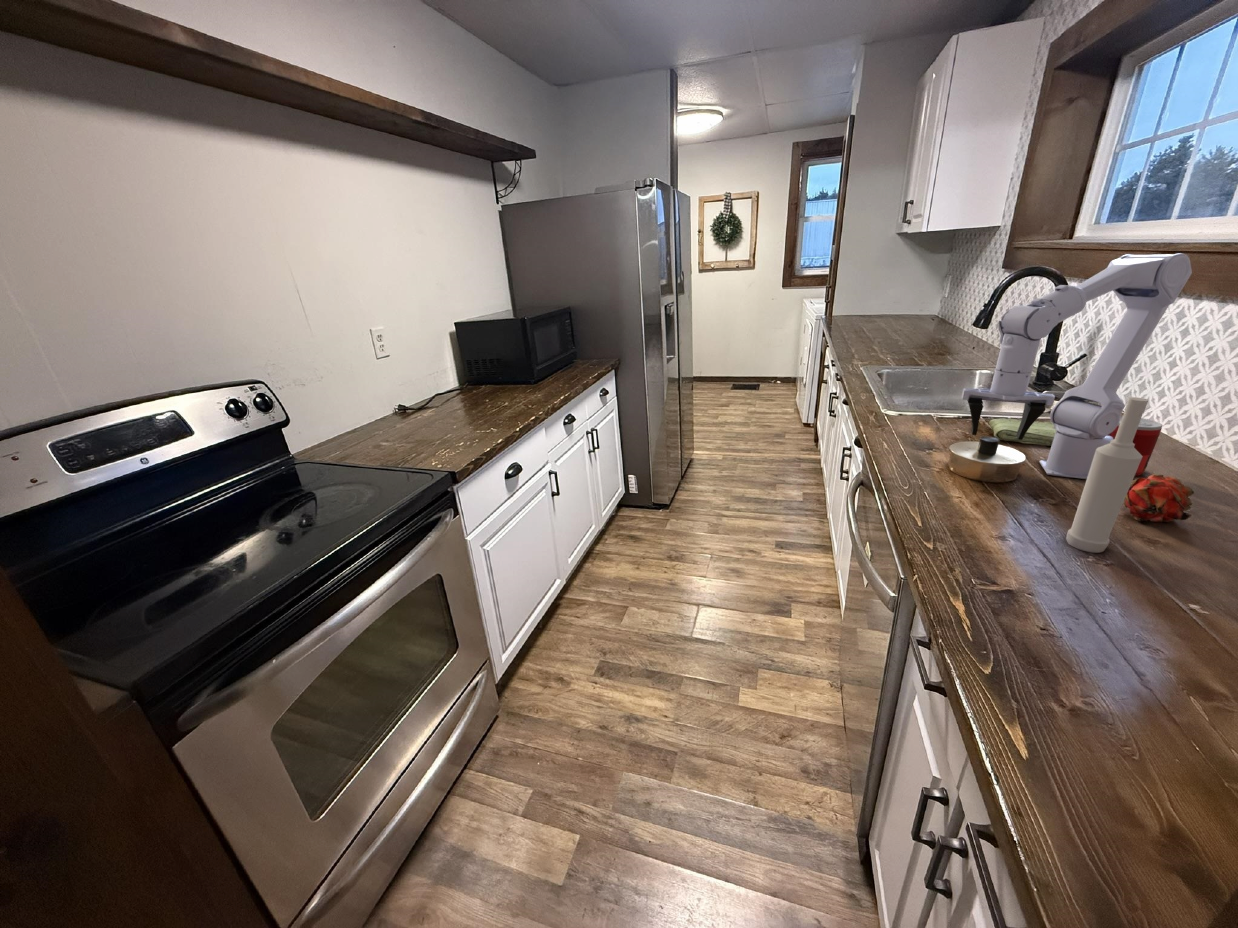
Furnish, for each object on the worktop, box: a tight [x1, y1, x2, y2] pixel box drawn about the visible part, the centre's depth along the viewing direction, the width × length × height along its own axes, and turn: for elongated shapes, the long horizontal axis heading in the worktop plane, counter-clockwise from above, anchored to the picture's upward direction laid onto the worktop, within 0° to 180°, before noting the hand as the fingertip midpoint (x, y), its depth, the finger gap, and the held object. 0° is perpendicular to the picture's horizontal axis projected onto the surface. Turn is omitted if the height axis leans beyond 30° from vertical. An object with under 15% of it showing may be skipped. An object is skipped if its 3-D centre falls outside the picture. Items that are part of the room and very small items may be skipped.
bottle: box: [1065, 396, 1149, 554], centre depth 78 cm, size 5×5×25 cm
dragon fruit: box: [1124, 473, 1195, 523], centre depth 88 cm, size 8×8×12 cm
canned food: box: [1107, 416, 1163, 477], centre depth 106 cm, size 8×8×11 cm
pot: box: [948, 452, 1022, 484], centre depth 110 cm, size 13×13×4 cm
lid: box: [948, 436, 1026, 466], centre depth 109 cm, size 14×14×4 cm
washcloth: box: [989, 418, 1056, 447], centre depth 128 cm, size 13×18×3 cm
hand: (996, 435), depth 102 cm, fingers open, 7 cm apart
